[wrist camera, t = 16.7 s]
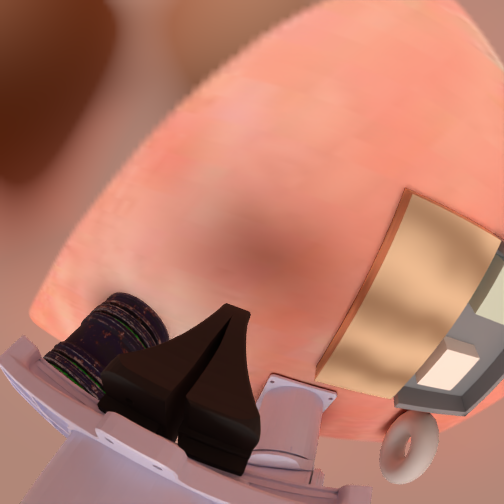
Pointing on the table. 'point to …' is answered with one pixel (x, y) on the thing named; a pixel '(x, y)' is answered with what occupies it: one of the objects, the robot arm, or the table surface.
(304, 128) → the table surface
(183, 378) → the robot arm
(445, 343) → the cream tile
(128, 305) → the storage jar
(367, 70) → the table surface
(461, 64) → the table surface
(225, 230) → the table surface
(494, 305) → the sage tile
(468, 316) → the box
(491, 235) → the oak board
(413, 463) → the donut
